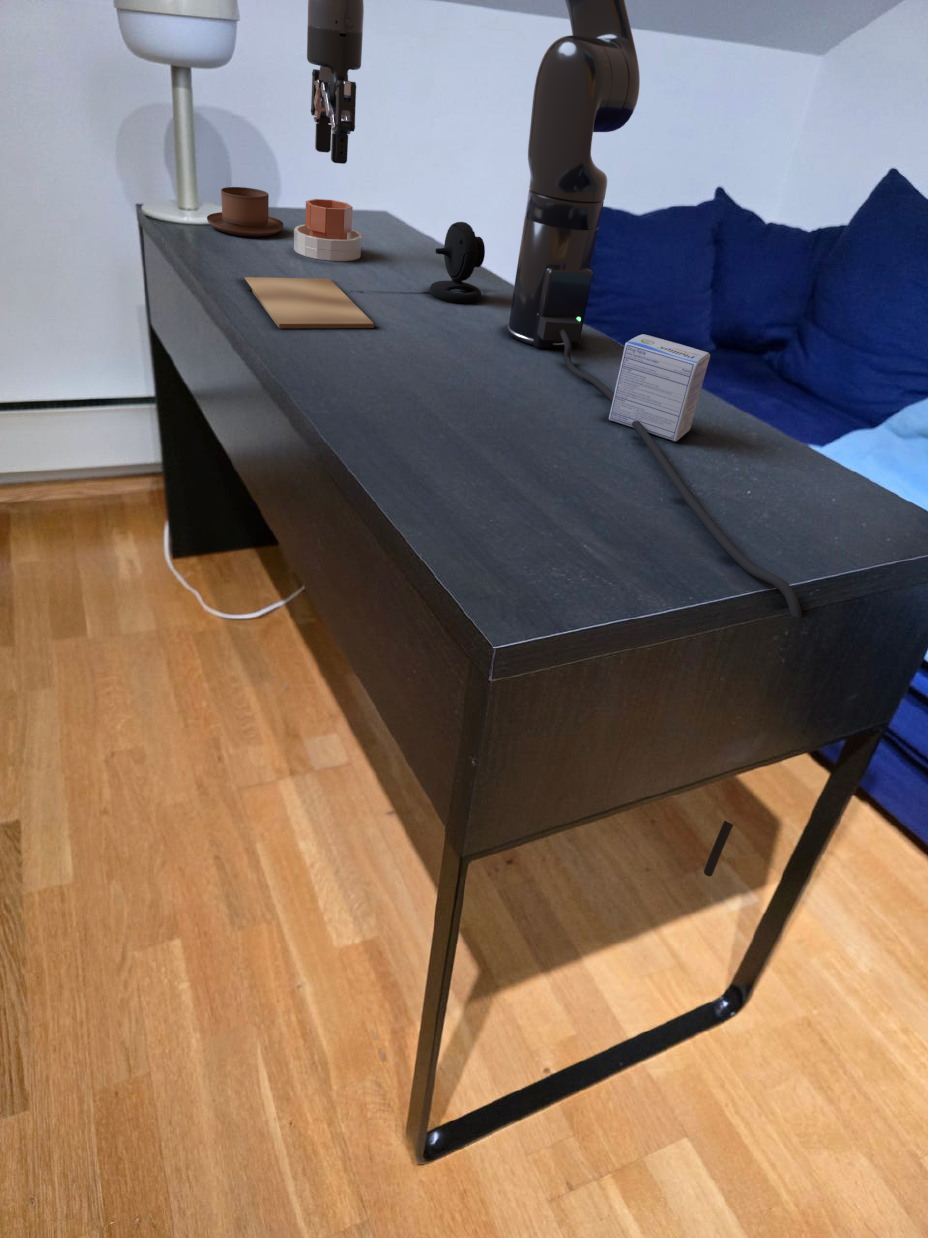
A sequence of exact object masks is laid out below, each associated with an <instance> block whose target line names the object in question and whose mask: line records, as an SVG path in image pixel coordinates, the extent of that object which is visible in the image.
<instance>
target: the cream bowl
mask: <svg viewBox="0 0 928 1238" xmlns="http://www.w3.org/2000/svg"><path fill="white" fill-rule="evenodd" d="M309 232H310V229H308V228H307V227H306V226H305V224H299V225H297V226H295V228H293V251H294V252H295V253H296V254H298V255H301V256H303V257H306V258H311V259H314V260H318V261H319V260H321V261H327V262H349V261H355V260H358V259H360V258H361V256H362V241H363V235H362V234H361V232H359V231H357V230H354V229H352V231H351V232H348V233H347V240H334V239H324V238H317V237H313V236H309Z"/></svg>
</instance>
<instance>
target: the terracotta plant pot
mask: <svg viewBox="0 0 928 1238" xmlns="http://www.w3.org/2000/svg"><path fill="white" fill-rule="evenodd" d="M353 208H354V207H353V206H352V205H351V204H349V203H348V202H344V201H340V200H335V199H326V198H325V199H323V198H312V199H308V200H306V201H305V223H304V225H305V226H306V227H307V228H308V229H310V232H309V236H313V237H317V238H324V239H334V240H347V233H348V232H351V231H352V230H353Z"/></svg>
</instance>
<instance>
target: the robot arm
mask: <svg viewBox="0 0 928 1238" xmlns="http://www.w3.org/2000/svg"><path fill="white" fill-rule="evenodd" d="M563 1H564V4H565V8H566V11H567V14H568V19H569V23H570V29H571V34H570V35H565V36H561V37H559V38H558V39H556V40H555V41H554V42H552V43H551V45H549V46H548V48H547V49H546V51H545V53H544V55H543V56H542V58H541V60H540V63H539V67H538V69H537V72H536V73H537V74H536V76H535V77H536V78H535V82H534V89H533V95H532V104H531V115H530V126H529V133H528V143H527V144H528V145H527V163H528V164H527V165H528V169H529V176H530V177H529V186H528V193H527V200H526V207H525V213H524V219H523V225H522V233H521V239H520V244H519V245H520V246H519V252H518V259H517V266H516V273H515V278H514V284H513V285H514V286H513V293H512V299H511V306H510V313H509V320H508V324H507V328H506V332H507V334H508V335H509V336H510V337H512V338H514V339H516V340H517V341H520V342H523V343H526V344H529V345H533V346H534V347H535V348H539V349H544V348H545V349H548V348H549V349H550V348H554V349H555V348H558V349H559V348H564V353H563V360H564V364H565V366H566V368H567V369H568V370H570V372H572V373H573V374H575V375H576V376H577V377H578V378H580V379H582V380H584V381H586V382H587V383H589V384H591V385H593V386H594V387H595V388H596V389H598V391H600V392H601V394H603V395H604V396H605V397H606V398H607V399H608V400H609V401H610V402H611V403H612V402H613V398H614V393H615V392H613V391H612V390H611V389H610V388H609V387H608V386H607V385H605V384H604V383H603V382H602V381H601V380H600V379H599V378H597V377H595V375H591V374H590V373H587V372H585V371H582V370H580V369H579V368H577V367H576V365H574V363H573V361H572V357H571V356H572V348H579V347H580V341H581V336H582V333H583V332H582V331H583V326H584V322H585V315H586V312H587V306H588V301H589V295H590V291H591V287H592V286H591V285H592V280H593V275H594V273H593V271H592V264H593V259H594V254H595V248H596V244H597V238H598V233H599V227H600V225H601V224H600V223H601V219H602V213H603V208H604V203H605V198H606V195H607V194H606V192H607V187H608V176H607V174H606V173H605V172H604V171H603V170H602V169H600V168H599V167H598V166H597V165H596V164H595V162H594V161H593V158H592V144H593V137H594V133H611V132H615V131H617V130H619V129H621V128H622V127H624V126H625V125H626V124H627V123H628V122H629V121H630V119H631V117H632V115H633V114H634V112H635V109H636V108H637V107H636V106H637V103H638V100H639V96H640V95H639V94H640V87H641V86H640V84H641V75H640V66H639V60H638V54H637V50H636V46H635V41H634V36H633V31H632V26H631V23H630V19H629V15H628V10H627V6H626V1H625V0H563ZM364 6H365V5H364V0H307V30H306V31H307V32H306V33H307V34H306V35H307V36H306V38H307V40H306V42H307V43H306V60H307V62H308V63H309V64H312V65H315V66H317V67H318V66H319V69H316V68H314V69H312V71H311V76H312V77H311V101H310V114H311V116H313V121H314V123H315V136H314V137H315V138H314V139H315V141H314V144H315V145H314V148H315V150H316V151H317V152H318V153H330V160H331V162H332V163H334V164H342V165H345V164H346V163H347V162H348V149H349V135H351V132H355V130H356V105H357V104H356V101H357V83H356V81H351V80H349V71H350V70H351V71H357V70H360V69H361V68H362V57H363V56H362V55H363V36H364V35H363V34H364V19H365V18H364V17H365V16H364V15H365V7H364ZM632 426H633V427H634V428H633V429H634V430H635V431H636V433H637V434H638V435H639V437H640V438H641V440H643V442H644V443H645V445H646V446H647V447H648V450H650V452H651V453H652V455H653V456H654V458H655V460H656V461H657V462H658V464H659V466H660V467H661V468H662V470H663V471H664V474H665V475H666V476H667V477H668V479H669V480H670V482H671V483H672V484H673V486H674V487H675V489H676V490H677V492H678V493H679V494H680V496H681V498H682V499H683V500H684V502H685V503H686V504H687V506H688V507H689V508H690V510H691V511H692V512H693V514H694V515H695V517H696V518H697V519H698V520H699V521H700V523H701V524H702V525H703V526H704V528H705V529H706V530H707V531H708V532H709V534H710V535H711V536H712V537H713V539H714V540H715V541H716V542H717V544H718V545H719V546H720V547H721V549H723V550H724V552H725V553H726V554H727V555H728V556H729V557H730V558H731V559H732V560H733V561H734V562H735V563H736V564H737V565H738V566H739V567H740V568H741V569H742V570H743V571H745V572H746V573H747V574H749V575H750V576H751V577H754V578H756V579H758V580H760V581H761V582H764V583H765V584H766V583H767V584H769V585H770V586H772V587H773V588H775V589H776V590H777V591H779V592H780V593H781V595H782V596H783V597H784V598H785V601H786V603H787V607H788V609H789V610H788V611H789V614H790V615H791V616H793V617H795V618H798V619H801V618H802V617H803V613H802V608H801V605H800V602H799V598H798V596H797V594H796V592H795V591H794V589H793V588H792V586H791V585H790V584H789V583H788V582H787V581H786V580H785V579H783V578H781V577H780V576H779V575H776V574H774V573H773V572H770V571H768V570H765V569H763V568H762V567H759V566H758V565H756V564H755V563H753V562H752V561H751V560H750V559H749V558H748V557H746V555H744V554H743V553H742V552H741V551H740V550H739V549H738V548H737V547H736V546H735V545H734V543H732V541H731V540H730V539H729V538H728V537H727V536H726V535H725V533H724V532H723V531H722V530H721V529H720V528H719V527H718V525H717V524H716V523H715V522H714V521H713V519H712V518H711V516H709V515H708V513H707V512H706V511H705V509H704V508H703V507H702V506H701V505H700V504H699V502H698V501H697V500H696V498H695V497H694V496H693V494H692V493H691V492H690V490H689V488H688V487H687V486H686V485H685V483H684V482H683V481H682V479H681V477H680V476H679V475H678V474H677V472H676V471H675V469H674V467H673V466H672V465H671V463H670V462H669V461H668V459H667V458H666V456H665V455H664V453H663V452H662V450H661V449H660V447H659V446H658V445H657V443H656V441H654V439H653V437H652V436H651V435H650V433H648V432H647V431H646V430H645V428H644V427H643V426H642V424H641V423H640V422H638V421H633V422H632ZM733 827H734V824H733V823H731V822H728V821H727V820H724V821H723V823H722V825H721V827H720V830H719V831H718V834H717V837H716V839H715V841H714V844H713V846H712V849H711V851H710V854H709V856H708V858H707V862H706V864H705V866H704V869H703V874H704V876H706V877H712V876H713V875H714V872H715V870H716V867H717V864H718V862H719V859H720V857H721V854H722V852H723V850H724V848H725V846H726V842H727V841H728V838H729V836H730V834H731V831H732V829H733Z"/></svg>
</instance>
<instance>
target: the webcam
mask: <svg viewBox="0 0 928 1238" xmlns="http://www.w3.org/2000/svg"><path fill="white" fill-rule="evenodd" d="M435 254H436V255H443V261H444V266H445V269H446V272H447V274H448V276H449V277H450V279H451V280H437V281H434V282H432V283H431V285H430V286H429V293H430V294H431V296H433V297H435V298H437V299H440V300H442V301H445V302H449V303H457V304H471V303H476V302H478V301H479V300H480V299H481V298H482V292H481V289H480V288H478V287H477V286H476V285H473V284H471V283H469V282H465V281H467V280H468V279H469V278H470V277H471V276H472V274H473V273H474V270H475V268H480V267H481V266H483V263H484V261H485V257H486V256H485V255H486V246H485V242H484V239H483V238H482V236H477V235H476V233H475V231H474V229H473V227H472V226H471V225H470V224H469V223H467V222H464V221H455V222H454V223H452V224H451V225H450V226H449V227H448V229H447V231H446V235H445V239H444V245H443V247H439V248H438V247H436V248H435ZM453 290H459V291H453Z"/></svg>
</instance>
